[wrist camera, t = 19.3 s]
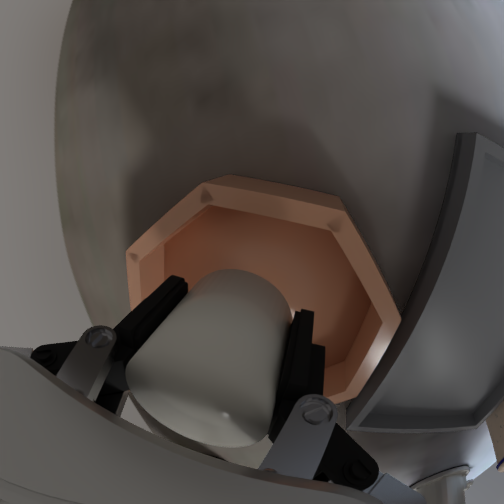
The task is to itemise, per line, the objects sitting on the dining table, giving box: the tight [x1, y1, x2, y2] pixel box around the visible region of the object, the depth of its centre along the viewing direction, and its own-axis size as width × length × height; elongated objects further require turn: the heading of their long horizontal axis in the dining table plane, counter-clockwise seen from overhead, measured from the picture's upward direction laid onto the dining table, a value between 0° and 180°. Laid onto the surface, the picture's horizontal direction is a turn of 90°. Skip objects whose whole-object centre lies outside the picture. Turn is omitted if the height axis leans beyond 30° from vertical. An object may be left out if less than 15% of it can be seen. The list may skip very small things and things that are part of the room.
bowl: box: [126, 174, 401, 404], centre depth 17 cm, size 16×16×4 cm
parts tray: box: [346, 133, 504, 433], centre depth 14 cm, size 17×24×2 cm
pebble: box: [125, 269, 292, 447], centre depth 9 cm, size 5×5×5 cm
